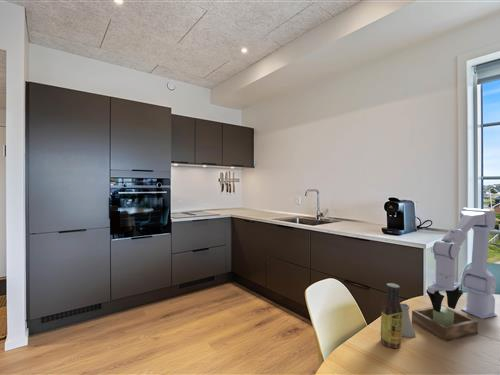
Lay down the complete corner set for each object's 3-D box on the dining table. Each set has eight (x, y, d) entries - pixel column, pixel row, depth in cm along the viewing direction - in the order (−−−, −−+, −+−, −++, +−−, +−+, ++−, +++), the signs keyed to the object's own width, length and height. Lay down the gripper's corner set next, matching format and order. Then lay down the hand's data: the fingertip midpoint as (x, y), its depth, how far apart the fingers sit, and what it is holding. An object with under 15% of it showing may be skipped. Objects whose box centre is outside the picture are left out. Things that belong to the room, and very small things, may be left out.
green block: (441, 321, 101) (442, 306, 101) (453, 327, 97) (454, 311, 97) (432, 323, 100) (433, 307, 100) (444, 329, 95) (445, 313, 95)
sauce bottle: (393, 351, 84) (395, 290, 83) (376, 341, 89) (377, 283, 89) (406, 346, 87) (407, 286, 86) (388, 336, 92) (389, 280, 92)
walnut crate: (441, 315, 107) (442, 305, 107) (477, 333, 94) (478, 321, 94) (411, 321, 102) (412, 310, 102) (445, 341, 90) (445, 328, 89)
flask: (409, 327, 98) (409, 301, 98) (419, 338, 91) (420, 310, 91) (389, 326, 99) (389, 300, 99) (397, 337, 92) (398, 309, 92)
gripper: (448, 268, 104) (447, 301, 104) (420, 271, 99) (419, 307, 100) (467, 274, 97) (466, 310, 97) (438, 278, 93) (437, 316, 93)
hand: (444, 309), depth 98 cm, fingers open, 7 cm apart
